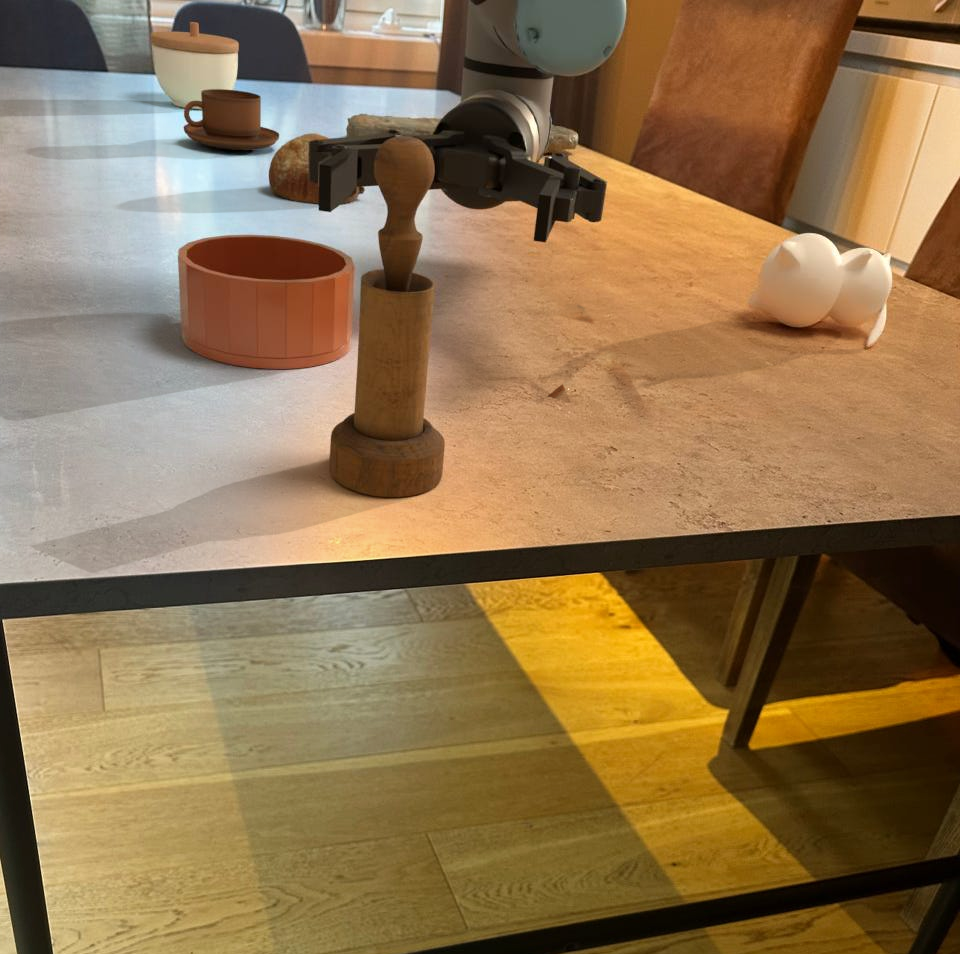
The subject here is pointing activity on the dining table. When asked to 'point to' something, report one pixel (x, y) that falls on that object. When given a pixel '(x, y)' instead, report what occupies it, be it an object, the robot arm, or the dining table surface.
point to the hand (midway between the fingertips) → (432, 203)
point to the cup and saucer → (229, 121)
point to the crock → (266, 301)
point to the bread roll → (297, 172)
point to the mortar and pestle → (393, 347)
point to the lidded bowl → (193, 63)
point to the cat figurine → (823, 284)
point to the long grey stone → (426, 126)
